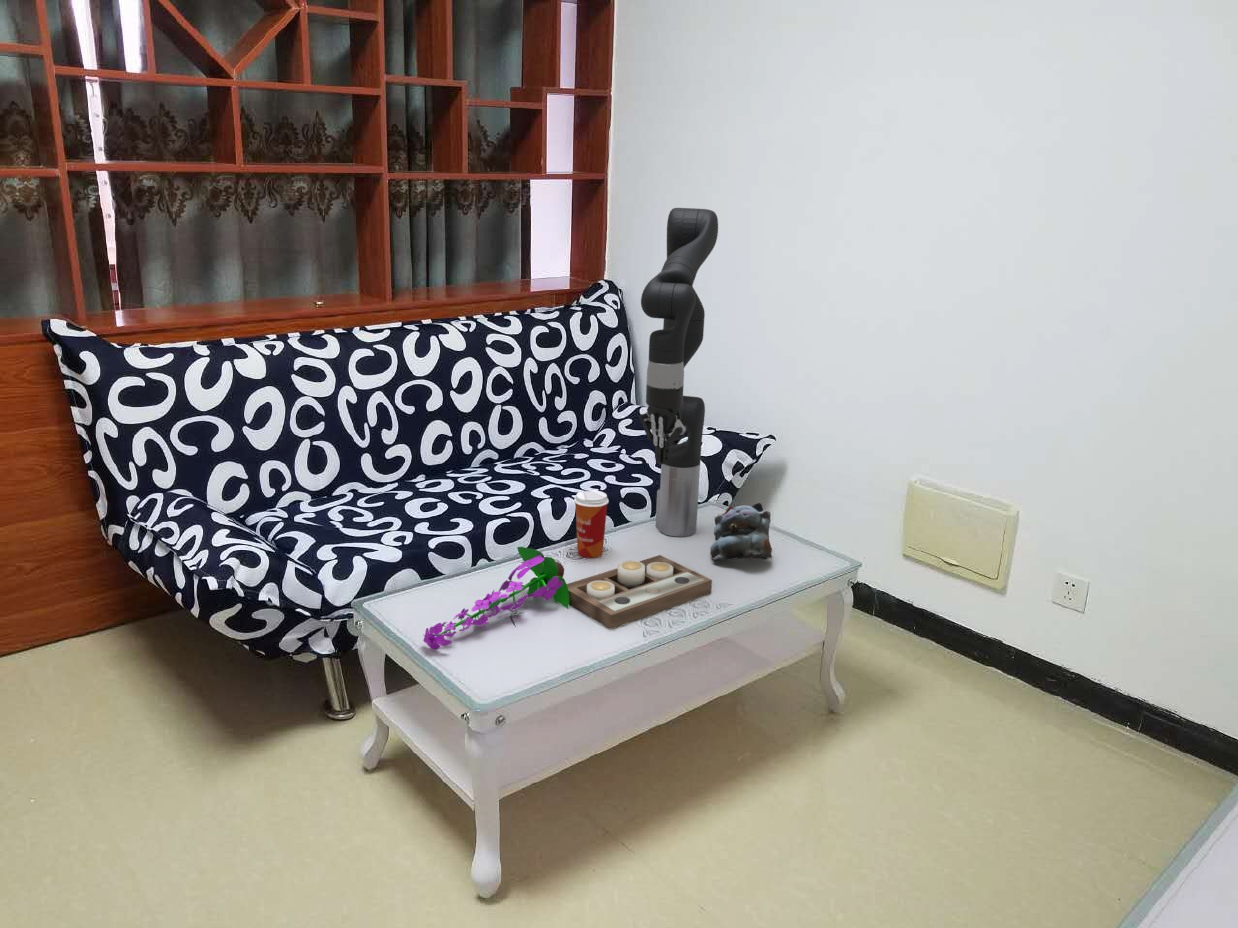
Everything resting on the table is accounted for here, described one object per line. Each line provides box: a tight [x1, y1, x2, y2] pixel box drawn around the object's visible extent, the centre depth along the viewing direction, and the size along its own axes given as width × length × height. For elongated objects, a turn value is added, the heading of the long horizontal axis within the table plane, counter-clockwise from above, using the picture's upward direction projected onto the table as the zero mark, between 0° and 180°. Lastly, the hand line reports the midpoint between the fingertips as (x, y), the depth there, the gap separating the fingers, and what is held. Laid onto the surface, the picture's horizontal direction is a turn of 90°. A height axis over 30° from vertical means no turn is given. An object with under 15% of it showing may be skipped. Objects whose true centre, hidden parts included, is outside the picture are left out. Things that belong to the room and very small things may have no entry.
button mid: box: [617, 560, 645, 585], centre depth 198 cm, size 6×6×3 cm
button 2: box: [646, 562, 673, 580], centre depth 204 cm, size 6×6×3 cm
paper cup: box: [573, 489, 610, 559], centre depth 216 cm, size 8×8×14 cm
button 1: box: [587, 580, 615, 600], centre depth 194 cm, size 6×6×3 cm
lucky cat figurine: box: [709, 502, 773, 562], centre depth 218 cm, size 15×12×14 cm
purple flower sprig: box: [422, 546, 570, 650], centre depth 185 cm, size 12×16×35 cm
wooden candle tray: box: [566, 554, 713, 630], centre depth 198 cm, size 16×27×3 cm, turn 130°
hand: (661, 463), depth 201 cm, fingers closed
